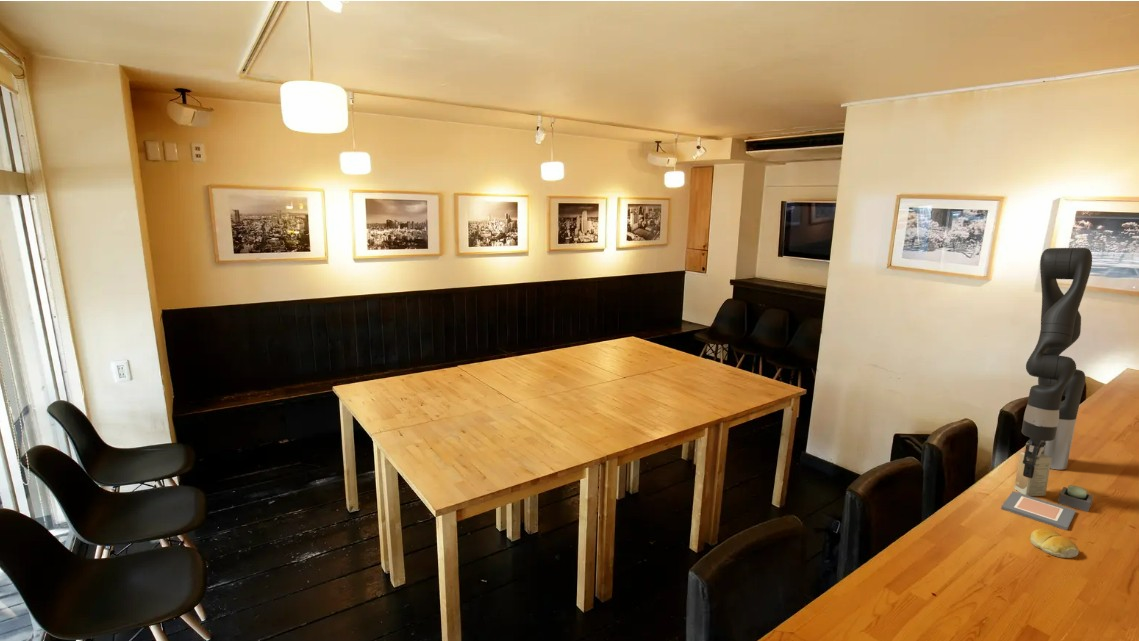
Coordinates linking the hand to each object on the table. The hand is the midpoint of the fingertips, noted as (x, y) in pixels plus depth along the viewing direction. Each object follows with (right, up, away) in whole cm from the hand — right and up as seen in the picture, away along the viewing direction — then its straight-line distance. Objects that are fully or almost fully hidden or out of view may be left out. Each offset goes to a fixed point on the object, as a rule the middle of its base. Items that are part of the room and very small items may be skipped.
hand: (1031, 472), depth 161 cm
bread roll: (-16, -12, -25) cm, 32 cm away
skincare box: (0, -7, +1) cm, 7 cm away
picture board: (-5, -8, -9) cm, 13 cm away
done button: (+8, -5, -6) cm, 11 cm away
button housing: (+8, -8, -5) cm, 12 cm away
